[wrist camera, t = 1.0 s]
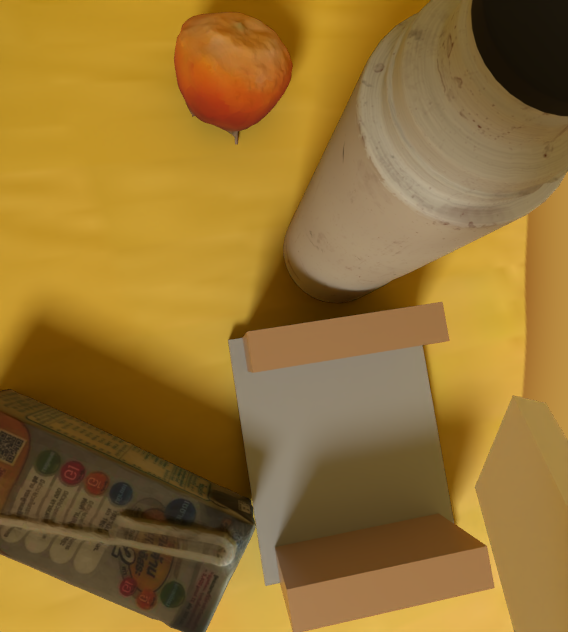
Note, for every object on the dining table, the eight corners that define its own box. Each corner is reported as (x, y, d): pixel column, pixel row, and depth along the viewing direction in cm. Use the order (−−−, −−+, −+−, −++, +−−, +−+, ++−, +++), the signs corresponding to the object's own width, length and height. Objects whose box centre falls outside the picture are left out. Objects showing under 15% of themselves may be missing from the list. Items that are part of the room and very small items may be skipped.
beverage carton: (205, 605, 37) (201, 656, 31) (-52, 490, 36) (-113, 517, 29) (254, 498, 38) (261, 525, 32) (7, 383, 37) (-40, 387, 30)
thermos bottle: (276, 204, 40) (398, -156, 12) (378, 195, 41) (701, -156, 13) (290, 308, 39) (448, 175, 12) (393, 297, 40) (762, 148, 13)
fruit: (148, 134, 38) (159, 24, 32) (187, 82, 43) (203, -23, 37) (253, 177, 39) (284, 77, 32) (280, 121, 44) (311, 25, 37)
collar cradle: (228, 340, 39) (229, 334, 31) (410, 312, 41) (457, 299, 32) (264, 578, 37) (275, 637, 29) (450, 539, 39) (510, 584, 31)
